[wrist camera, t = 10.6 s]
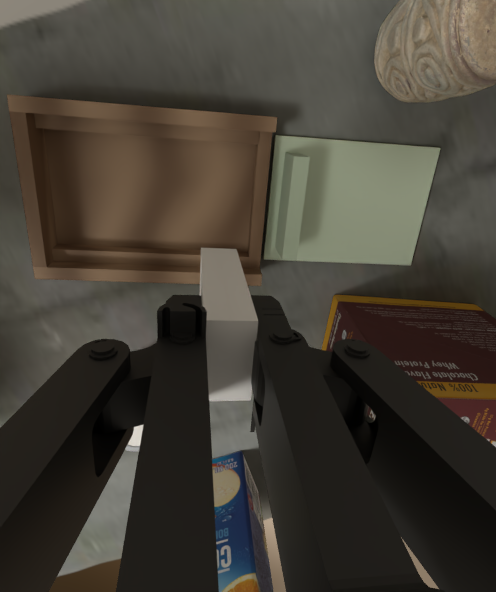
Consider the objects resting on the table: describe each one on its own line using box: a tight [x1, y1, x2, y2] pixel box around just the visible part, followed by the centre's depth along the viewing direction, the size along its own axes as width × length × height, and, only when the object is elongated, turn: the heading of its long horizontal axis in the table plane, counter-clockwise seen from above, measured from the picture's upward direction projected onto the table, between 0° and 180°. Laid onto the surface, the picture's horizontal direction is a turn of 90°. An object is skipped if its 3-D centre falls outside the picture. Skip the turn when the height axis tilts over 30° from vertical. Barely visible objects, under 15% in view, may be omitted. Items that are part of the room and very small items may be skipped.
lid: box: [263, 135, 441, 265], centre depth 34 cm, size 14×10×4 cm
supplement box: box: [322, 295, 496, 447], centre depth 35 cm, size 10×15×16 cm
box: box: [7, 95, 277, 286], centre depth 31 cm, size 18×13×4 cm
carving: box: [374, 0, 496, 103], centre depth 25 cm, size 6×8×12 cm
